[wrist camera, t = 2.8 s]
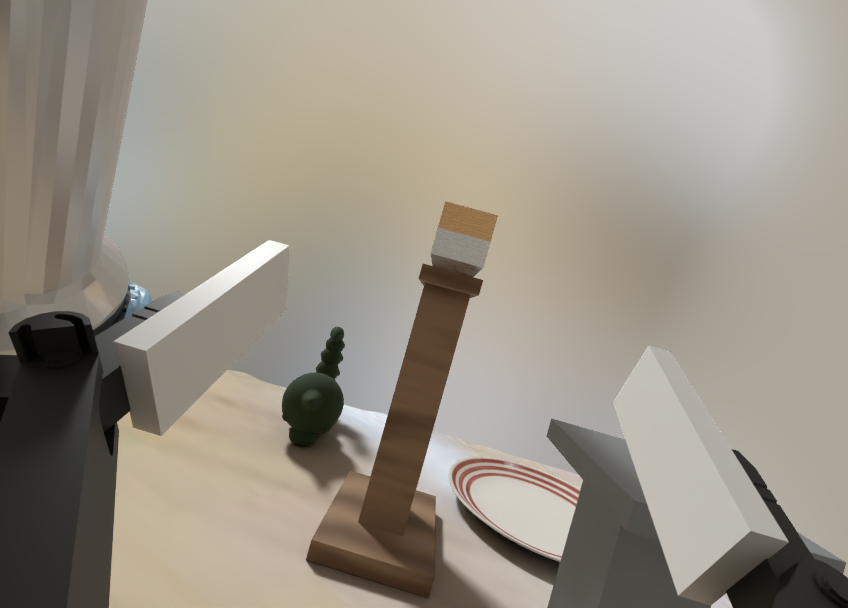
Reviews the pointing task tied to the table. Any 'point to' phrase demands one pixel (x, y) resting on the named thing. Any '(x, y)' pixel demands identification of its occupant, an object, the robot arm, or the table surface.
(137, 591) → the table surface
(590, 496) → the low stand
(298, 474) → the table surface
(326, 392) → the dark green knobbed ball
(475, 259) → the brown and gray block
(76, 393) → the robot arm
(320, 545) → the tall stand
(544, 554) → the dinner plate
